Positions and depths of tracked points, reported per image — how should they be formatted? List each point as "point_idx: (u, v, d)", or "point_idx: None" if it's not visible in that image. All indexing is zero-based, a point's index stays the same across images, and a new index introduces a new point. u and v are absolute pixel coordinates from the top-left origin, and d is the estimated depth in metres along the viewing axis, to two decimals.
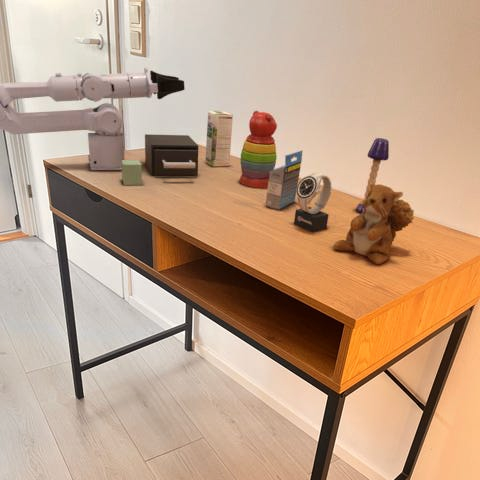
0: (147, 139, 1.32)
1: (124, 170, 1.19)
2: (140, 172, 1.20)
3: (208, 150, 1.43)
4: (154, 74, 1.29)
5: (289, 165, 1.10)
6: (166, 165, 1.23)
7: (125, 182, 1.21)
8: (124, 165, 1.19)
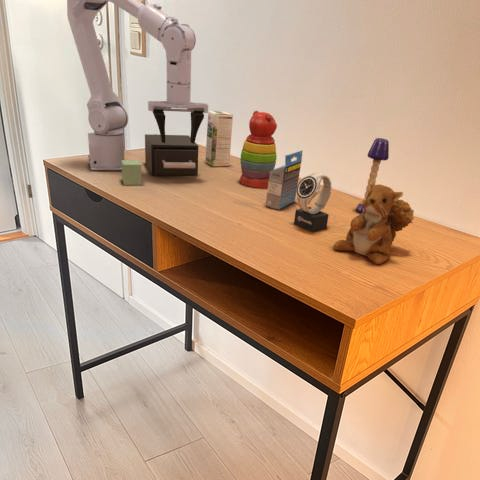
0: (147, 139, 1.32)
1: (124, 170, 1.19)
2: (140, 172, 1.20)
3: (208, 150, 1.43)
4: (194, 117, 1.20)
5: (289, 165, 1.10)
6: (166, 165, 1.23)
7: (125, 182, 1.21)
8: (124, 165, 1.19)
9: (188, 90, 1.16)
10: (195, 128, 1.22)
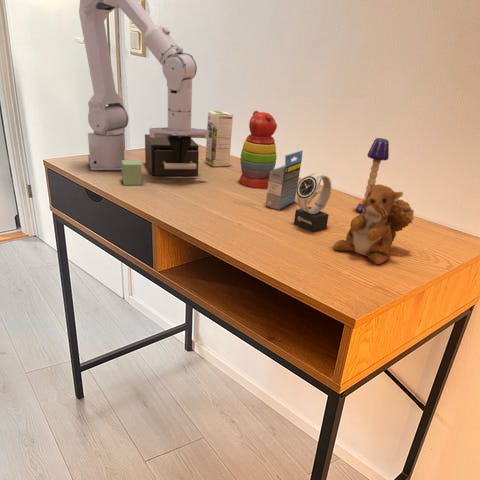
0: (147, 139, 1.32)
1: (124, 170, 1.19)
2: (140, 172, 1.20)
3: (208, 150, 1.43)
4: (181, 143, 1.21)
5: (289, 165, 1.10)
6: (167, 166, 1.22)
7: (125, 182, 1.21)
8: (124, 165, 1.19)
9: (188, 117, 1.18)
10: (182, 153, 1.22)
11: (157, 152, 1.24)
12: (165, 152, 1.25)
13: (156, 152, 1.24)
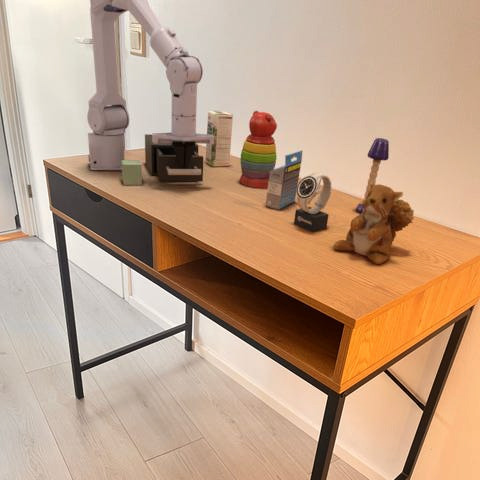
0: (147, 139, 1.32)
1: (124, 170, 1.19)
2: (140, 172, 1.20)
3: (208, 150, 1.43)
4: (185, 149, 1.16)
5: (289, 165, 1.10)
6: (170, 172, 1.18)
7: (125, 182, 1.21)
8: (124, 165, 1.19)
9: (193, 122, 1.14)
10: (187, 160, 1.18)
11: (160, 157, 1.20)
12: (169, 157, 1.20)
13: (159, 157, 1.20)
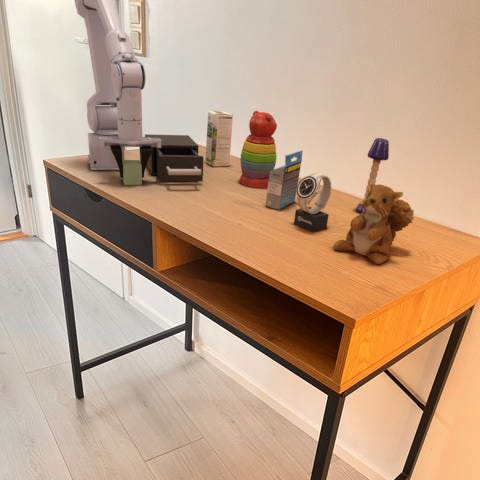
0: None
1: (124, 170, 1.19)
2: (140, 172, 1.21)
3: (208, 150, 1.43)
4: (141, 152, 1.18)
5: (289, 165, 1.10)
6: (170, 172, 1.18)
7: (125, 182, 1.21)
8: (124, 165, 1.19)
9: (139, 126, 1.15)
10: (143, 163, 1.20)
11: (160, 157, 1.20)
12: (169, 157, 1.20)
13: (159, 157, 1.20)
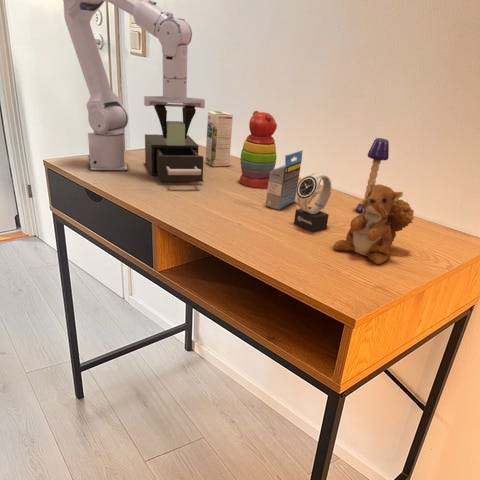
0: (147, 139, 1.32)
1: (168, 130, 1.20)
2: (183, 132, 1.21)
3: (208, 150, 1.43)
4: (185, 112, 1.19)
5: (289, 165, 1.10)
6: (170, 172, 1.18)
7: (168, 142, 1.21)
8: (168, 125, 1.19)
9: (184, 85, 1.16)
10: (187, 123, 1.21)
11: (160, 157, 1.20)
12: (169, 157, 1.20)
13: (159, 157, 1.20)
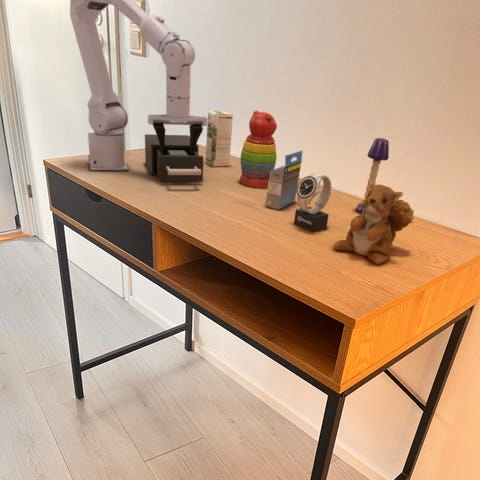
0: (147, 139, 1.32)
1: None
2: None
3: (208, 150, 1.43)
4: (193, 130, 1.22)
5: (289, 165, 1.10)
6: (170, 172, 1.18)
7: None
8: None
9: (187, 104, 1.18)
10: (194, 141, 1.24)
11: (160, 157, 1.20)
12: (169, 157, 1.20)
13: (159, 157, 1.20)
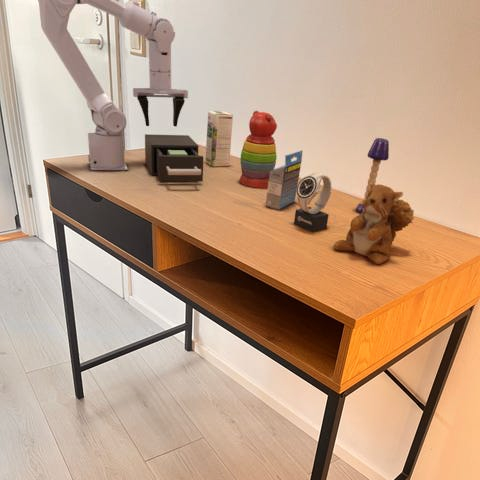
0: (147, 139, 1.32)
1: None
2: None
3: (208, 150, 1.43)
4: (175, 102, 1.33)
5: (289, 165, 1.10)
6: (170, 172, 1.18)
7: None
8: None
9: (168, 77, 1.29)
10: (177, 112, 1.34)
11: (160, 157, 1.20)
12: (169, 157, 1.20)
13: (159, 157, 1.20)
